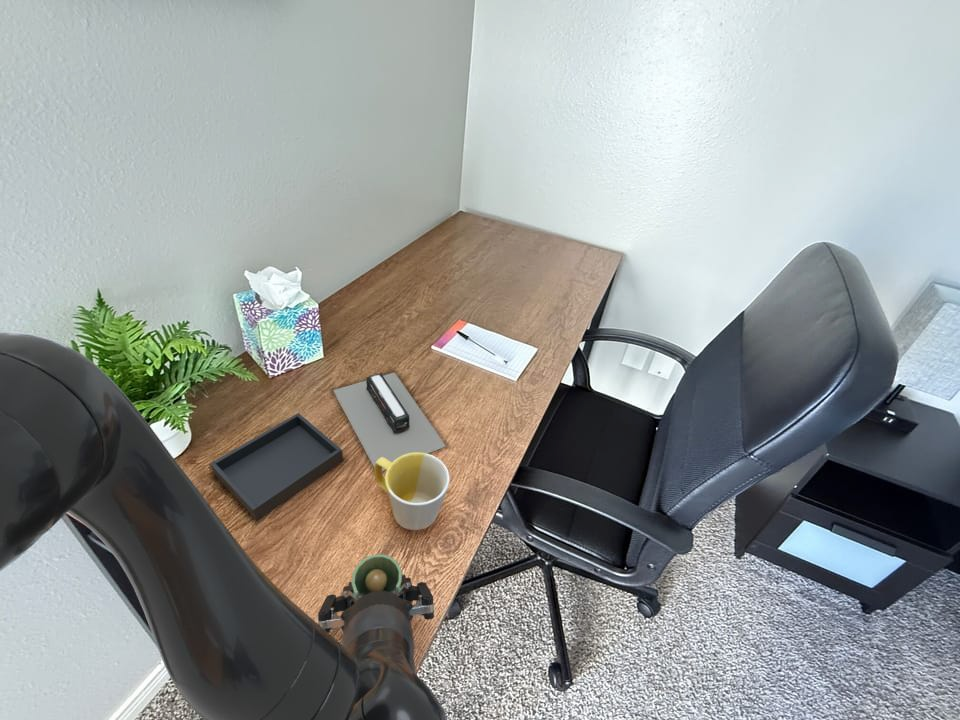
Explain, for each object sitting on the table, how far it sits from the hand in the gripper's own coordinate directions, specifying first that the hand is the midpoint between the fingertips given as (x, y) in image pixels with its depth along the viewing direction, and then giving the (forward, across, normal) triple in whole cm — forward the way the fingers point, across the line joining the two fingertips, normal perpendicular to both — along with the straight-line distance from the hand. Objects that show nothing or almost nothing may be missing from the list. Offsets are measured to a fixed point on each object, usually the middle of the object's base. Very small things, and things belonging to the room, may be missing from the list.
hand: (377, 585), depth 66 cm
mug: (+14, -6, -7) cm, 17 cm away
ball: (-2, 0, -1) cm, 2 cm away
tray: (+22, +17, -15) cm, 31 cm away
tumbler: (+2, 0, +4) cm, 5 cm away
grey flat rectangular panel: (+29, -3, -23) cm, 37 cm away
